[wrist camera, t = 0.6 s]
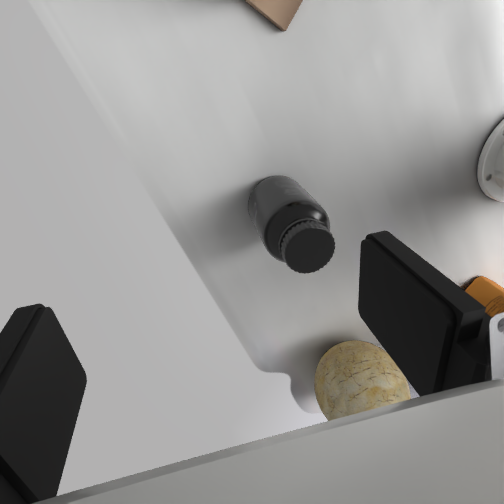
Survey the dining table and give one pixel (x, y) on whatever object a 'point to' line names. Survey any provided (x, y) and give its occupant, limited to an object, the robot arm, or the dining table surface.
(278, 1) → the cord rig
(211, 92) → the dining table surface
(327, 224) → the supplement bottle
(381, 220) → the dining table surface
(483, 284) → the coffee package
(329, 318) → the dining table surface
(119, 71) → the dining table surface
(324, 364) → the fossilized egg
